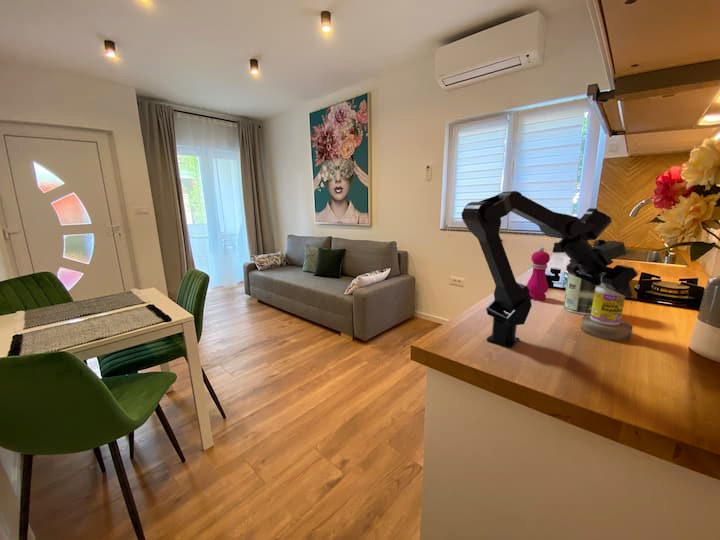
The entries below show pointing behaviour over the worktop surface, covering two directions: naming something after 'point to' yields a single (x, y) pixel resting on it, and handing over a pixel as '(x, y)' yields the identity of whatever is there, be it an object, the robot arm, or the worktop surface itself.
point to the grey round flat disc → (606, 330)
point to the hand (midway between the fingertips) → (616, 291)
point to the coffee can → (579, 295)
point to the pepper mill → (539, 275)
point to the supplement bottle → (607, 306)
